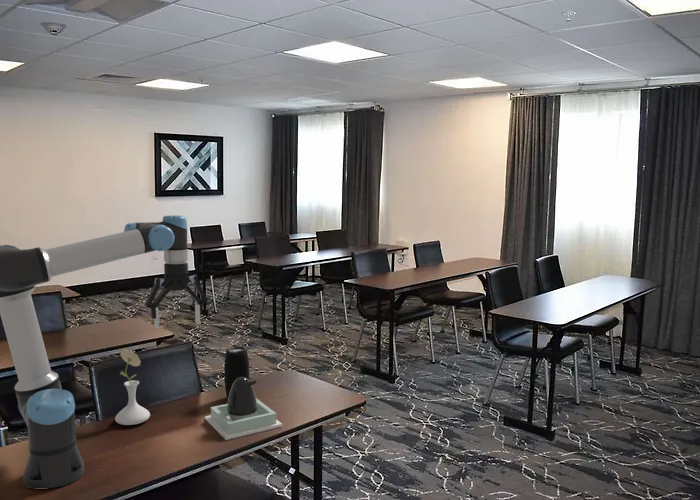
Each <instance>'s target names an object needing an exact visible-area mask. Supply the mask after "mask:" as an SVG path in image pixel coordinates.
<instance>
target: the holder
mask: <svg viewBox="0 0 700 500" xmlns="http://www.w3.org/2000/svg"><path fill="white" fill-rule="evenodd" d="M256 401H257V411H256V414H255V416H254V417H249V418H245V419H240V420H236V421H233V420H232V419H231V418H230V417H229V414H228V412H227V404H228V403H226V404H220V405H216V406H215V405H214V406H210V414H209V415H206V416H204V420H205V421H206V422H207V423H208V424H209V425H210V426H211V427H213V428H214V430H215V431H216V432H217V433H218V434H219V435H220V436H221V437H222V438H223V439H224V440H225V441H227V440H233V439H237V438H241V437H245V436H249V435H253V434H257V433H262V432H267V431H269V430H270V431H271V430H273V429H278V428H283V423H282V422H281V421H279V419H277V412H275V411H274V410H273V409H271V408H270V407H269V406H268V405H266V404H265V403H264V402H262V401H261V400H259V399H258V398H257V397H256Z"/></svg>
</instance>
